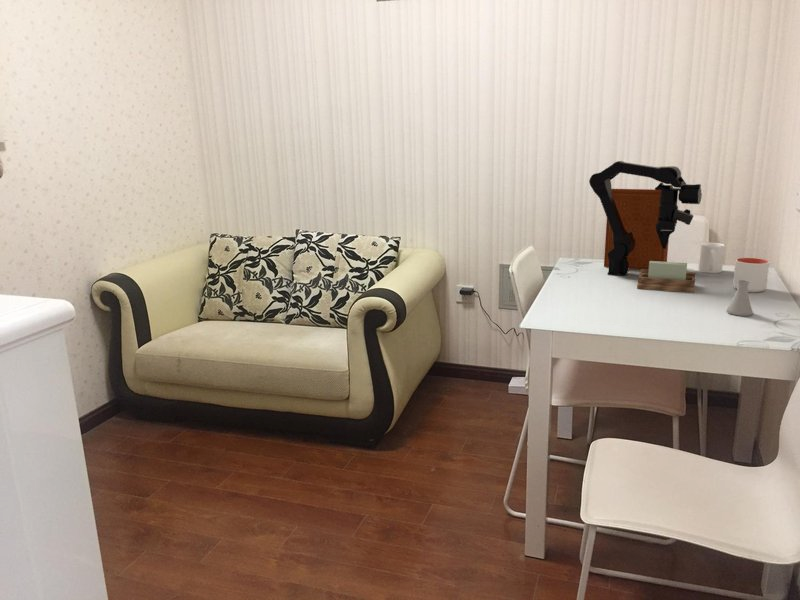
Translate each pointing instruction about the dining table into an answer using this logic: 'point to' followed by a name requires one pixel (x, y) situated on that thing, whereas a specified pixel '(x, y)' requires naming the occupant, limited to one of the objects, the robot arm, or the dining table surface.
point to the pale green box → (667, 270)
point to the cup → (751, 273)
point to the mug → (711, 257)
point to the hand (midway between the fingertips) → (664, 246)
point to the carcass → (666, 283)
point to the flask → (741, 300)
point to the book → (638, 226)
